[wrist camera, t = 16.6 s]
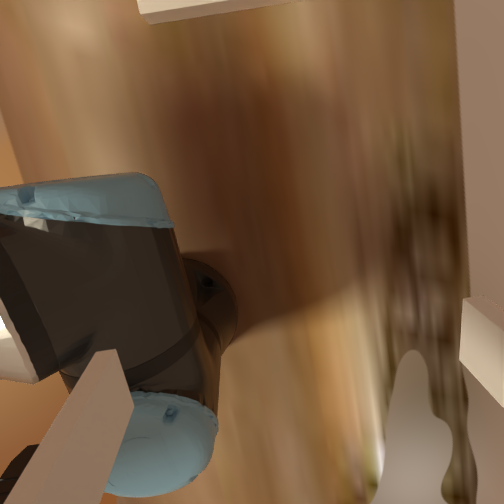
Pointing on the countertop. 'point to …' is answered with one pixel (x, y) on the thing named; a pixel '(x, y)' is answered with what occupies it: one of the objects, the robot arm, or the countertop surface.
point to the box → (196, 8)
